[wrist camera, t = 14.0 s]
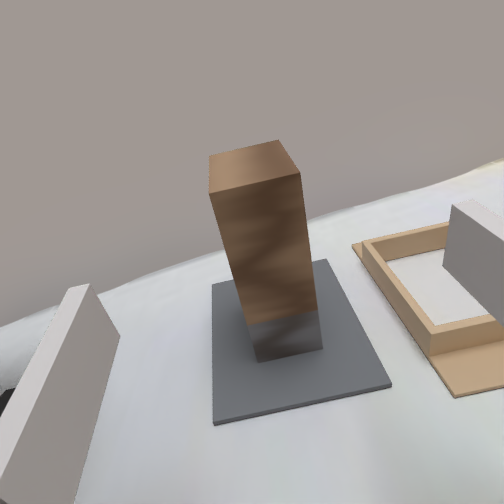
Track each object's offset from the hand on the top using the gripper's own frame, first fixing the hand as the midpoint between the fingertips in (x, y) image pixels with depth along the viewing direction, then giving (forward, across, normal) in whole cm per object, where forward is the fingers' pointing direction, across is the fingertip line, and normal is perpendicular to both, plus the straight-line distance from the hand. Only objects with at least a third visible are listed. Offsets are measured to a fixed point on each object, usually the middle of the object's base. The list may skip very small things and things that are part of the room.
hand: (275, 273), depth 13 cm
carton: (+10, +16, -14) cm, 23 cm away
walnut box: (+10, 0, -13) cm, 17 cm away
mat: (+10, 0, -14) cm, 17 cm away
